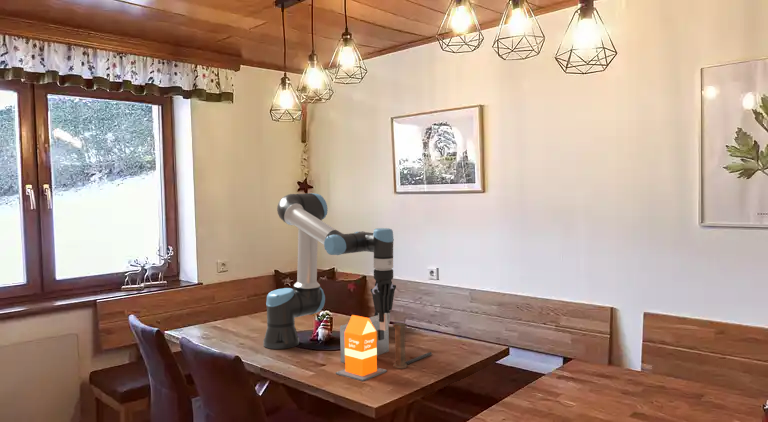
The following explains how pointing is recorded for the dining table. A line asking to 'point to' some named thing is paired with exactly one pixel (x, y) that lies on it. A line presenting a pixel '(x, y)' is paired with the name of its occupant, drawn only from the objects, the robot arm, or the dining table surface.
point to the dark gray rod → (418, 358)
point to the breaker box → (381, 338)
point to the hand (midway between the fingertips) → (383, 329)
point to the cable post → (400, 345)
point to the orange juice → (360, 346)
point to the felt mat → (361, 378)
